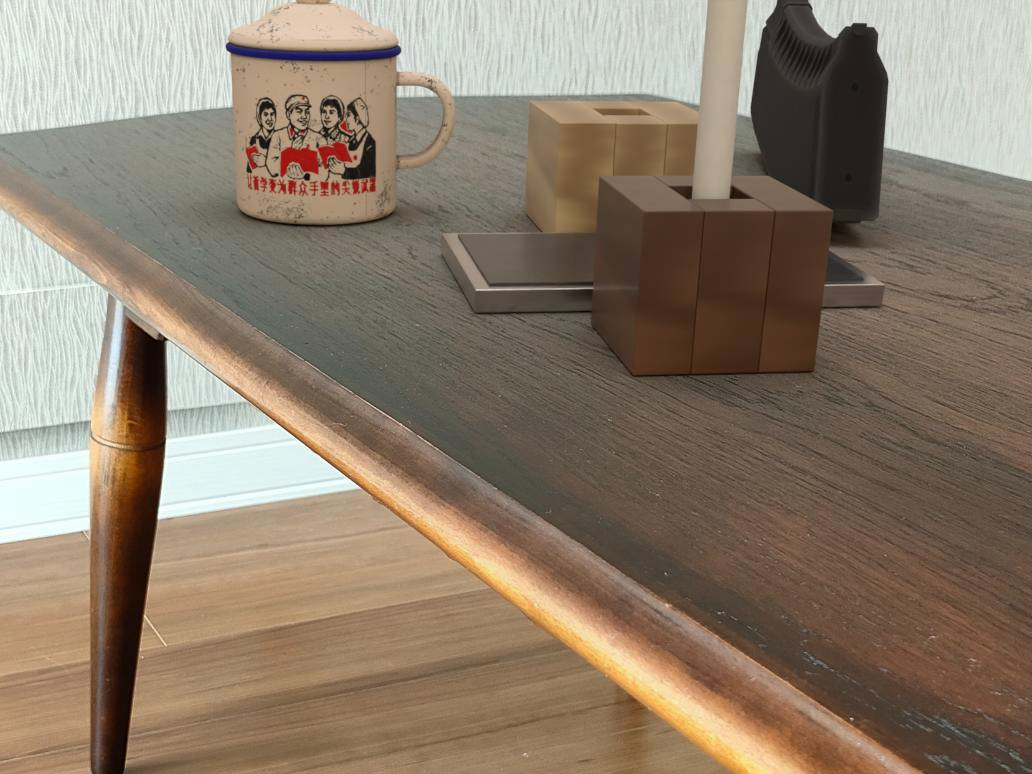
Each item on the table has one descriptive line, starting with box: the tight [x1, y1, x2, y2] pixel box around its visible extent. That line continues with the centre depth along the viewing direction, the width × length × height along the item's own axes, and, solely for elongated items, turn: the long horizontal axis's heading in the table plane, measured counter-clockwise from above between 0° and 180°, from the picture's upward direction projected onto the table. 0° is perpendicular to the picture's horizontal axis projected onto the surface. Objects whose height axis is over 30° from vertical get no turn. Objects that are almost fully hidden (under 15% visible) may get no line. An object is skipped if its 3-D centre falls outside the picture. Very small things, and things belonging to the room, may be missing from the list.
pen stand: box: [524, 100, 699, 233], centre depth 76 cm, size 8×8×6 cm
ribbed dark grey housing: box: [750, 0, 890, 224], centre depth 85 cm, size 17×3×30 cm
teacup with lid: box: [225, 0, 457, 226], centre depth 77 cm, size 12×9×12 cm
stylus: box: [692, 0, 749, 199], centre depth 54 cm, size 1×1×14 cm
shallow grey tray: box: [440, 232, 886, 314], centre depth 66 cm, size 18×11×1 cm, turn 99°
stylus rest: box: [590, 175, 833, 376], centre depth 55 cm, size 7×7×6 cm
